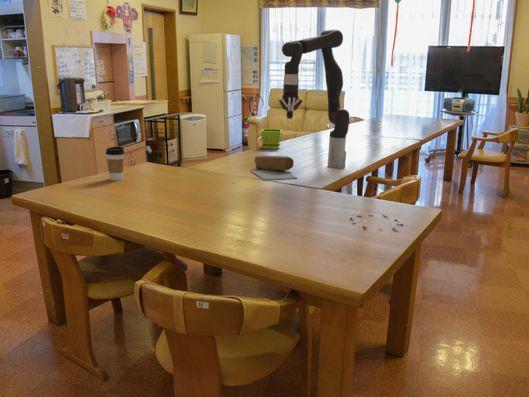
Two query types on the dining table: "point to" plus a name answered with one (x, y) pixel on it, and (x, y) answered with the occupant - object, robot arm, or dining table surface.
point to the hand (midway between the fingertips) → (289, 118)
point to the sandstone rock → (274, 162)
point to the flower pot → (271, 138)
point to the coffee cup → (115, 162)
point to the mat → (273, 174)
